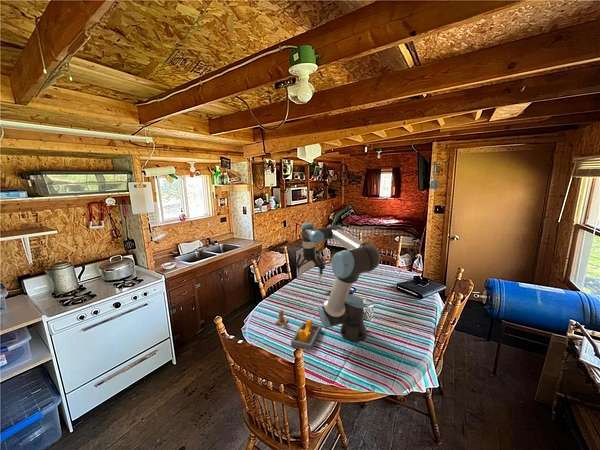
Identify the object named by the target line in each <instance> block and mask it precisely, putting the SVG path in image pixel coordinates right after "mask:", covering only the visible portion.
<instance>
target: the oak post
mask: <svg viewBox="0 0 600 450" xmlns="http://www.w3.org/2000/svg"><path fill="white" fill-rule="evenodd" d="M278 317H279V318H278V319H277V320H276V321H275V325H279V326H283V327H284V326H285V325H286V324H287V322H288V321H289V318H285V317H284V310H283V309H280V310H278Z"/></svg>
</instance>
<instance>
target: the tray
mask: <svg viewBox="0 0 600 450" xmlns="http://www.w3.org/2000/svg"><path fill="white" fill-rule="evenodd" d="M305 327H306V322H303V321H302V323H301V324H300V326H299V328H298V329H297V330H296V332H295V333H294V335H293V336H292V338H291V340H290V344H291V345H290V346H292V347H296V348H300V349H304V348H306V349H305V350H309V351H312V350H313V348H314V346H315V343H316V341H317V340H318V338H319V336H320V333H321V332H322V325H318V324H313V323H312V331H311V337H310V338H309V339H308V341H307V342H306V343H305V342H301V341H299V332H298V331H299V330H300V329H302V330H305Z"/></svg>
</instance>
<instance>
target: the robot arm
mask: <svg viewBox="0 0 600 450" xmlns="http://www.w3.org/2000/svg"><path fill="white" fill-rule="evenodd" d="M301 234H302V236H301V237H302V238H301V239H302V247H303V248H302V251H303V252H300V253H298V256H297V257H298V258H297V261H296V262H295V265H294V267H297V272H299V274H298V275H299V278H301V277H302V276H303V267H302V265H304V264H303V263H305V261H307V262H312V263H314V265H315V266H316V267H317V268H318V280H321V279H322V275H323V273H324V270H325V268H326V266H325V264H324V262H323V260H322V258H321V254H320V253H318V254H316V248H315V244H321V243H323V242H324V241H328V240H333V241H335V242H336V243H338V244H339V245H341V246H342V247H344V248H345V249H344V250H340V251H337V252H336V253H334V255H333V256H332V258H331V270H332V273H333V275H334V276H335V279H334V281H333V285H332V287H331V291H330V294H329V298H327V299H326V300H325V301H324V304H323V305H320V306H319V307H318V308H317V313H318V316H319V320H320V323H321V325H323V327H324V328H326V329H327V328H328V329H329V328H332V327H335V326H338V325H340V324H341V326H340V335H341V337H342V338H343V339H344V340H346V341H349V342H354V343H358V342H362V341H364V340H365V339H366V338H367V335H368V332H367V331H368V330H367V328H366V325H365V323H364V307H365V306H364V300H363V298H362V297H360V296H358V295H356V294H351V293H350V291H351V289H352V286H353V284H354V283H356V282H357V281H358V279H359V277H360V275H361V274H364V273H369V272H372V271H374V270H376V269H377V268H378V266H379V265H380V263H381V253H380V251H379V249H378V248H377V246H375V245H374V244H372V243H371V242H367V241H362V240H360V239H359V238H357V237H355V236H353V235H351V234H350V233H348V232H346V231H345V230H344V228H343V227H342V225H332V226H327V227H326V226H325V227H319V228H315V226H314V223H313V222H304V223H302V224H301ZM302 257H303V259H302ZM301 259H302V260H301ZM300 261H301V262H300Z"/></svg>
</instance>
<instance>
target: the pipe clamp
mask: <svg viewBox="0 0 600 450" xmlns="http://www.w3.org/2000/svg"><path fill="white" fill-rule="evenodd" d="M305 323H306V327H305V330H302V329H300V330H299V331H298V330H297V331H298V332H299V341H301V342H305V343H306V342H307V341H308V339H309V338H310V337H311V331H312V324H313V321H312V320H311V319H306V321H305Z"/></svg>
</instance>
